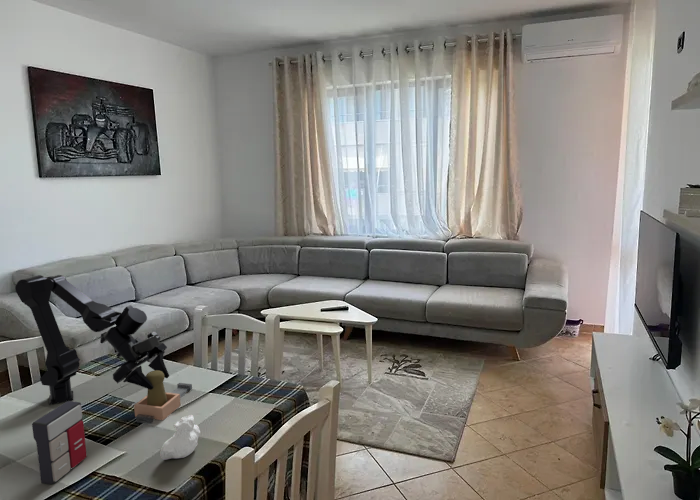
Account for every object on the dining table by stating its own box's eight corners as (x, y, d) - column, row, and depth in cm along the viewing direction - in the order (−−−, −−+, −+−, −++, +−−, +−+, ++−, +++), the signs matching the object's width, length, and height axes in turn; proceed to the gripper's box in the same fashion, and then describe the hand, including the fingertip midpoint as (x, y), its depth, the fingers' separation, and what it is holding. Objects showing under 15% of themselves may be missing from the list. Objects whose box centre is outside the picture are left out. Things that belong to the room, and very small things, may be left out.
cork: (145, 404, 146) (142, 370, 144) (167, 400, 148) (164, 366, 146) (147, 414, 140) (143, 378, 138) (169, 409, 143) (166, 374, 141)
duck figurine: (165, 474, 118) (184, 448, 114) (146, 450, 120) (164, 424, 116) (201, 449, 129) (219, 424, 124) (183, 427, 131) (201, 402, 126)
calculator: (54, 485, 111) (47, 425, 108) (38, 483, 112) (31, 423, 109) (89, 457, 121) (83, 401, 119) (74, 455, 122) (68, 400, 120)
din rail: (136, 422, 138) (136, 416, 138) (179, 387, 159) (179, 382, 159) (150, 423, 137) (150, 417, 137) (192, 389, 158) (191, 384, 158)
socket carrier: (135, 416, 141) (134, 404, 141) (154, 402, 150) (153, 390, 149) (162, 420, 139) (162, 408, 139) (180, 405, 148) (179, 393, 147)
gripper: (118, 337, 132) (157, 380, 132) (159, 317, 150) (194, 354, 149) (96, 362, 135) (134, 403, 135) (139, 339, 153) (172, 375, 153)
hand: (160, 382), depth 143 cm, fingers open, 7 cm apart
